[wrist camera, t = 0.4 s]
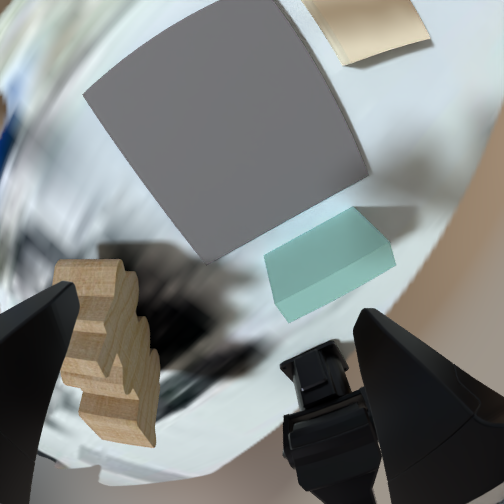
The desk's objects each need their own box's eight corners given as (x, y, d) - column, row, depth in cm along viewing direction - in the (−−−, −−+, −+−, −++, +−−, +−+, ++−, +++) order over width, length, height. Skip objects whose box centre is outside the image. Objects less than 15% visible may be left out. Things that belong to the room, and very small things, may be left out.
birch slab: (416, 41, 14) (430, 38, 12) (340, 66, 16) (351, 63, 14) (380, -20, 11) (392, -27, 10) (297, 0, 13) (304, -10, 11)
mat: (365, 173, 19) (369, 175, 19) (206, 261, 22) (206, 265, 21) (258, -14, 12) (259, -17, 11) (86, 94, 15) (82, 94, 14)
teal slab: (360, 226, 22) (396, 265, 16) (275, 272, 23) (288, 323, 18) (352, 206, 21) (389, 241, 16) (263, 254, 22) (274, 304, 17)
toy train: (130, 241, 21) (81, 331, 12) (164, 374, 29) (155, 451, 20) (73, 243, 20) (12, 321, 12) (121, 370, 29) (104, 443, 20)
